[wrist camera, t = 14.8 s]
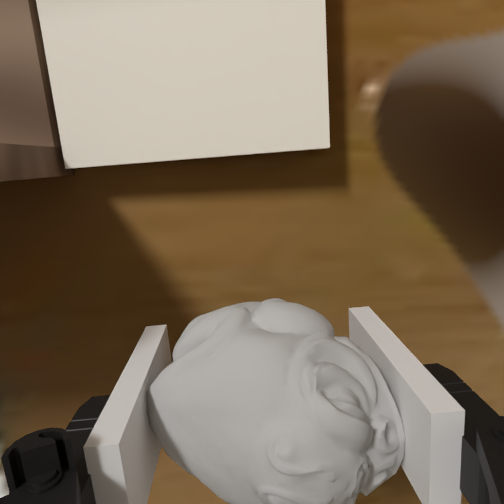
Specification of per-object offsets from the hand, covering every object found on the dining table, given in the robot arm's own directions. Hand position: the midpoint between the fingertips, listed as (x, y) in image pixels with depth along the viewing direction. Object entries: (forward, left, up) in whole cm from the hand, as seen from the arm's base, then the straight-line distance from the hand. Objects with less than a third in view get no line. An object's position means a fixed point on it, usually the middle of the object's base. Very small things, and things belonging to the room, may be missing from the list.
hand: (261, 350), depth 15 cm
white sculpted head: (0, 0, -1) cm, 1 cm away
